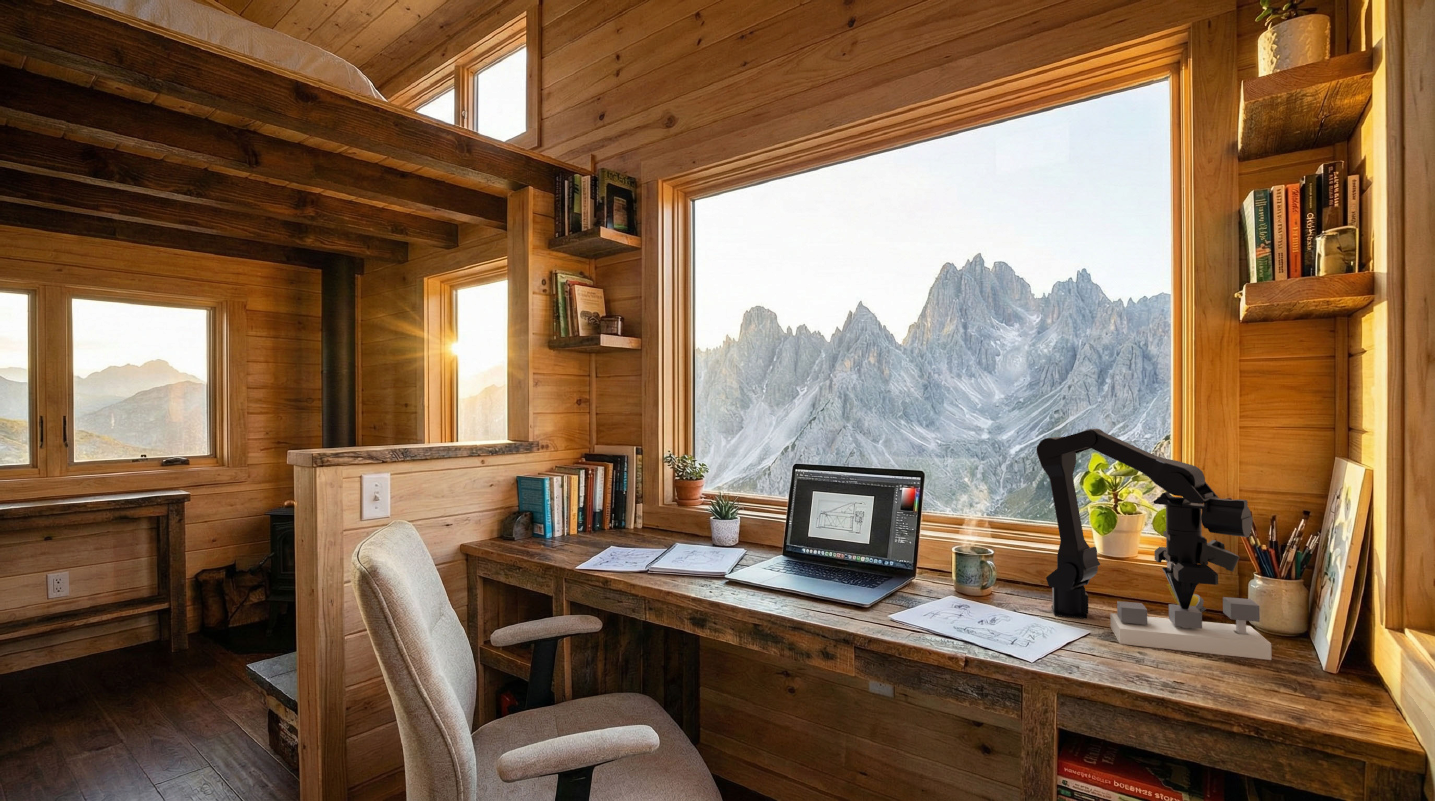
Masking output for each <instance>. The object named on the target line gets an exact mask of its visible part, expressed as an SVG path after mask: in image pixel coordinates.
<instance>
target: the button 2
mask: <svg viewBox="0 0 1435 801" xmlns="http://www.w3.org/2000/svg"><path fill="white" fill-rule="evenodd" d="M1222 612H1223V614H1224V615H1225V616H1226V617H1228V618H1229V619H1230V620H1234V621H1235V625H1236V632H1238V633H1241V634H1246V626H1247V622H1254V623H1255V622H1256V623H1257V622H1258V623H1260V621H1261V620H1260V605H1259V604H1258V603H1256V602H1255V601H1253V599H1251V598H1241V597H1229V596H1227V597H1226V596H1222Z"/></svg>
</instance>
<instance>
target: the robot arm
mask: <svg viewBox="0 0 1435 801" xmlns="http://www.w3.org/2000/svg"><path fill="white" fill-rule="evenodd" d="M1091 449H1092V450H1094V451H1097V453H1100V454H1103V455H1104V456H1106V457H1109V458H1111V459H1113V460H1115V461H1116V462H1120V463H1121V464H1123V465H1126V466H1128V467H1130V468H1131V469H1133V470H1136V471H1138V472H1140V473H1142V474H1143V475H1145V476H1147V478H1148V479H1150V480H1151V481H1152V482H1153V483H1154V484H1155V485H1157V487H1159V488H1161V489H1162V490H1164V491H1165V492H1162V493H1161V495H1160V496H1159V497H1158V498H1156V499H1154V500H1153V504H1154V505H1161V506H1165V530H1164V531H1162V532H1163V537H1164V538H1166V540H1165V541H1166V542H1165V544H1166V546H1165V547H1164V546H1159V547H1157V548H1156V549H1155V550H1154V561H1156V563H1162V561H1165V562H1166V567H1161V569H1162V571H1163V573H1164V575H1165V577H1166V579H1167V581H1168V584H1169V585H1171V588H1172V590H1173V592H1174V594H1175V596H1176V598H1177V600H1178V602H1179V605H1180V607H1181V608H1182V609H1188V608H1189V605H1190V602H1191V599H1192V596H1193V594H1195V590H1196V588H1197V586H1198V585H1199V584H1201V585H1214V586H1217V585H1219V574H1218V572H1216V571H1215V570H1214V569H1213V568H1212V567H1210V566H1209V563H1211V564H1214V565H1215V566H1219V567H1221V568H1224V569H1225V570H1227V571H1229V572H1235V568H1236V566H1237V564H1238V562H1239V560H1240V556H1239V555H1238V554H1236V553H1234V552H1232V551H1230V550H1229V549H1228V550H1227V549H1226V548H1225V544H1224V542H1221V541H1218V540H1217V539H1216V540H1215V539H1212V540H1210V541H1208V539H1207V538H1206V537H1205V536H1203V533H1202V532H1203V531H1202V530H1203V529H1207V530H1208V532H1209V533H1212V534H1219V535H1225V536H1226V535H1227V536H1233V537H1240V538H1241V537H1242V538H1249V537H1250V535H1251V533H1252V529H1253V520H1254V519H1253V516H1252V513H1251V510H1250V507H1249V506H1248V504H1249V503H1248V500H1247V499H1241V498H1240V499H1228V498H1219V496H1218V495H1217V493H1215V491H1214V490H1213V489H1212V488H1211V486H1210V485H1209V484H1208V483H1207V482H1206V478H1205V474H1204V472H1203V471H1202V469H1200V467H1197V466H1196V465H1193V464H1189V463H1186V462H1183V461H1178V460H1175V459H1169V458H1165V457H1161V456H1157V455H1155V454H1153V453H1150V452H1149V451H1146V450H1145V449H1142V448H1139V447H1137V446H1136V445H1133V444H1131V443H1128V442H1127V441H1124V440H1122V439H1120V438H1117V437H1115V436H1113V435H1112V434H1108V433H1106V432H1104V431H1103V430H1102V429H1099V428H1087V429H1084V430H1082V431H1079V432H1076V433H1073V434H1070V435H1066V436H1057V437H1056V436H1055V437H1046V438H1043V439H1042V440H1040V441H1039V443H1038V444H1037V445H1036V455H1037V457H1038V460H1039V464H1040V466H1041V468H1042V469H1043V471H1044V472H1045V474H1046V475H1047V477H1048V478H1049V484H1050V488H1051V493H1052V499H1053V500H1052V501H1053V505H1054V511H1055V517H1056V521H1057V527H1058V532H1059V533H1058V534H1059V540H1060V543H1059V546H1058V551H1057V555H1056V569H1054V570H1053V572H1051V573H1050V574H1049V575H1047V576H1046V578H1045V579H1046V583H1047V585H1048V587H1049V588H1051V590H1052V596H1051V597H1052V604H1051V605H1050V606H1051V607H1050V608H1051V610H1052V613H1053V615H1054V616H1056V617H1063V618H1064V617H1065V618H1075V619H1076V618H1077V619H1088V616H1087V615H1089V595H1088V593H1087V592H1086V587H1085V586H1088V584H1089V583H1090V581H1091V579H1092V578H1094V577H1095V576H1096V575H1097V573H1098V570H1099V569H1098V566H1099V567H1100V566H1101V563H1100V562H1099V559H1098V548H1097V546H1089V544H1088V543H1087V541H1086V539H1085V536H1084V532H1083V526H1082V521H1081V520H1082V519H1081V514H1080V510H1079V503H1078V498H1077V492H1076V486H1075V483H1074V472H1075V469H1076V468H1075V467H1076V464H1077V454H1079V453H1083V452H1085V451H1088V450H1091ZM1202 526H1203V527H1204V528H1203V529H1202Z"/></svg>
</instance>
